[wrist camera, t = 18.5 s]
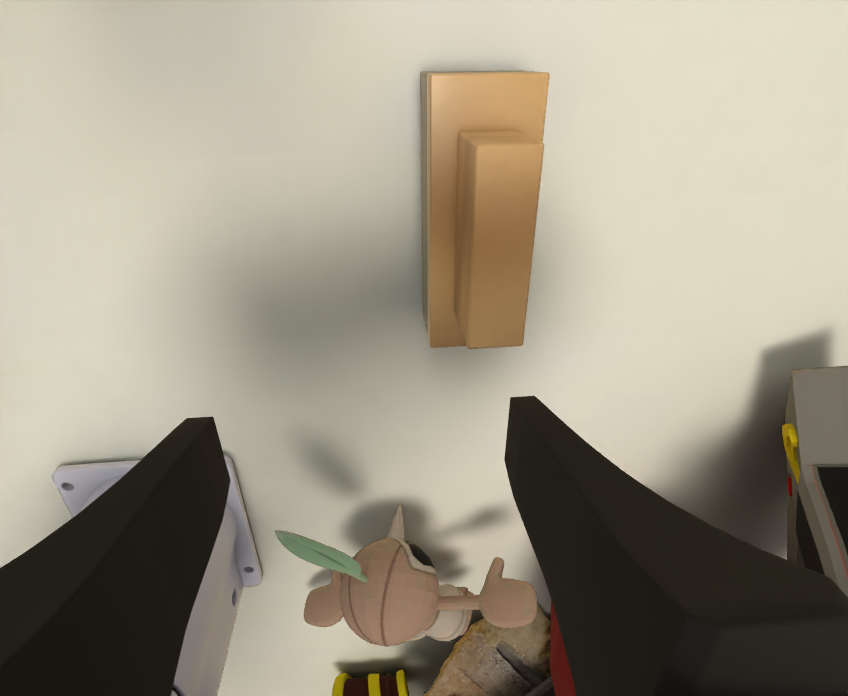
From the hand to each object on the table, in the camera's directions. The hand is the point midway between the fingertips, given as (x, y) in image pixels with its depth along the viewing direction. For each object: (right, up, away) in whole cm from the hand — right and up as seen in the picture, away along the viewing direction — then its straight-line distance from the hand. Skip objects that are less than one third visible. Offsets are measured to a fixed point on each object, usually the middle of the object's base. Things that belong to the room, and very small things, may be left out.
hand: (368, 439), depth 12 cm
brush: (+3, +8, +7) cm, 11 cm away
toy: (+3, -13, +17) cm, 21 cm away
